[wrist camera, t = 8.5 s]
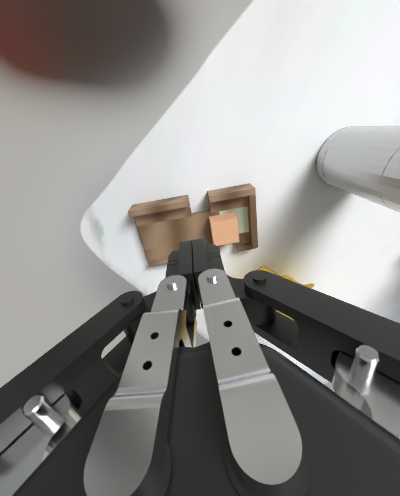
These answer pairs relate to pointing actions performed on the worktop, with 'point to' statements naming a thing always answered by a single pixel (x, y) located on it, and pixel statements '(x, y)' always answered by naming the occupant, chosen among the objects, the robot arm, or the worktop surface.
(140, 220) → the box
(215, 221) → the block
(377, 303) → the worktop surface
